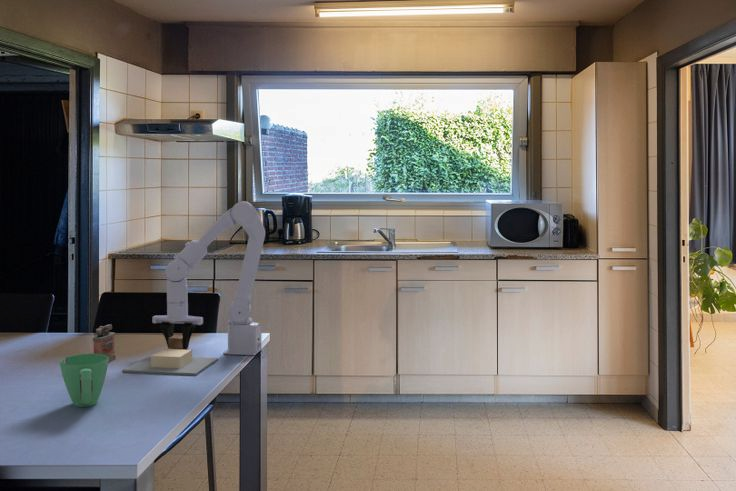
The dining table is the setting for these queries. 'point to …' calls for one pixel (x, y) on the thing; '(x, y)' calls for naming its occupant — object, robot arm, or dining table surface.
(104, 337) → the lighter
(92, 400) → the mug
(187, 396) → the dining table surface
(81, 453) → the dining table surface
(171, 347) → the walnut block
